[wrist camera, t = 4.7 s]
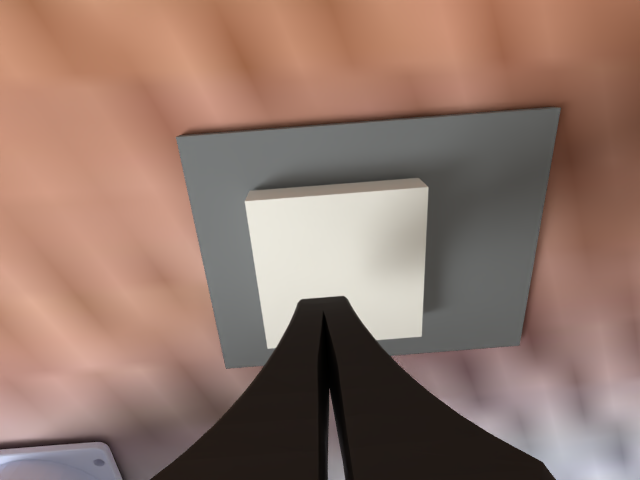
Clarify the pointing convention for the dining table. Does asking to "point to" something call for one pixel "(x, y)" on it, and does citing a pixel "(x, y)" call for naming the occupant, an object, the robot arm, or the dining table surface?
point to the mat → (377, 165)
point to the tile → (342, 252)
